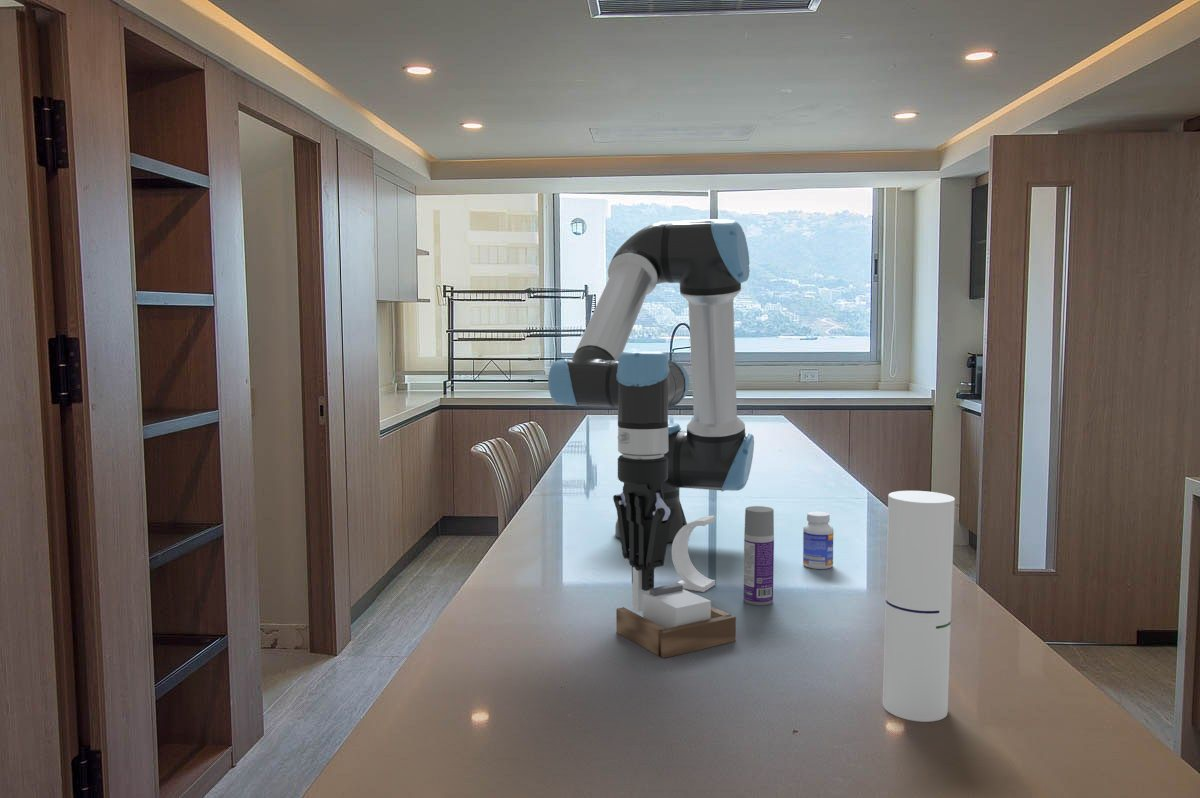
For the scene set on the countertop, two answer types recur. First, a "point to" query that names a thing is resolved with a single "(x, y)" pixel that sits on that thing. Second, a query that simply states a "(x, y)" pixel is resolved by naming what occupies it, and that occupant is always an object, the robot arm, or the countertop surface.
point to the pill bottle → (818, 541)
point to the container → (758, 555)
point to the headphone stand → (682, 559)
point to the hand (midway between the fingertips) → (642, 608)
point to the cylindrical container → (918, 604)
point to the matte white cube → (674, 606)
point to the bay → (676, 632)
